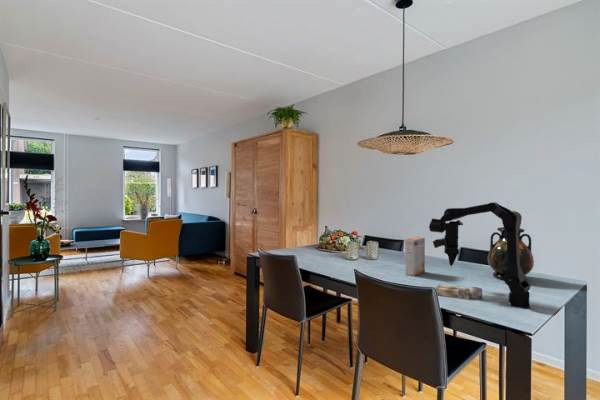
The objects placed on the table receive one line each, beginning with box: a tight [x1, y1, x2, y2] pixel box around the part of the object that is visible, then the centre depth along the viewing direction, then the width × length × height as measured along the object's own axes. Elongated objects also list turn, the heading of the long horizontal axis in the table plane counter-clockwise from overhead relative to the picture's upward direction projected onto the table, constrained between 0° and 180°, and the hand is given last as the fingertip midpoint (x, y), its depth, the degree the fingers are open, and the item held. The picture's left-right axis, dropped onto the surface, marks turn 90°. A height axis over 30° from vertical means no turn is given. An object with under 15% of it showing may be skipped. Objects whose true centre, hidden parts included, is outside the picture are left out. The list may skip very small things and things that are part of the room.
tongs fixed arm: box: [434, 286, 470, 300], centre depth 147 cm, size 14×3×4 cm, turn 65°
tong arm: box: [437, 284, 483, 300], centre depth 148 cm, size 18×5×4 cm, turn 66°
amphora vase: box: [487, 226, 535, 281], centre depth 178 cm, size 22×22×28 cm
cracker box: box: [404, 236, 426, 277], centre depth 188 cm, size 14×6×21 cm, turn 134°
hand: (451, 265), depth 157 cm, fingers closed
